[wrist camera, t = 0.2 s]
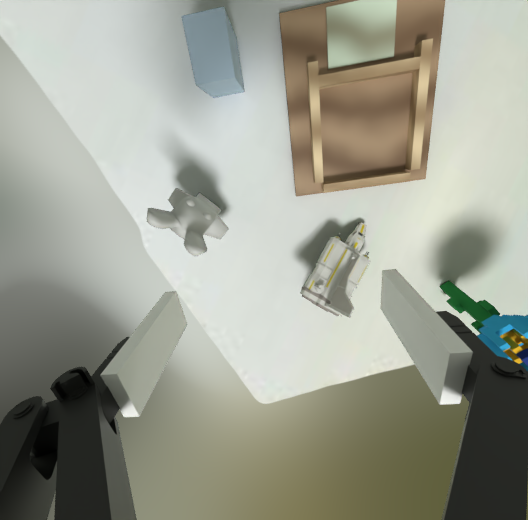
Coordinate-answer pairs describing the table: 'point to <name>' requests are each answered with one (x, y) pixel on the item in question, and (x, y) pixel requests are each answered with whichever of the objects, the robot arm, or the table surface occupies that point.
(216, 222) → the bunny figurine
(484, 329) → the toy flower
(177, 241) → the table surface
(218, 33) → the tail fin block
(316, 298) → the toy spacecraft
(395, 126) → the jig
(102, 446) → the robot arm
